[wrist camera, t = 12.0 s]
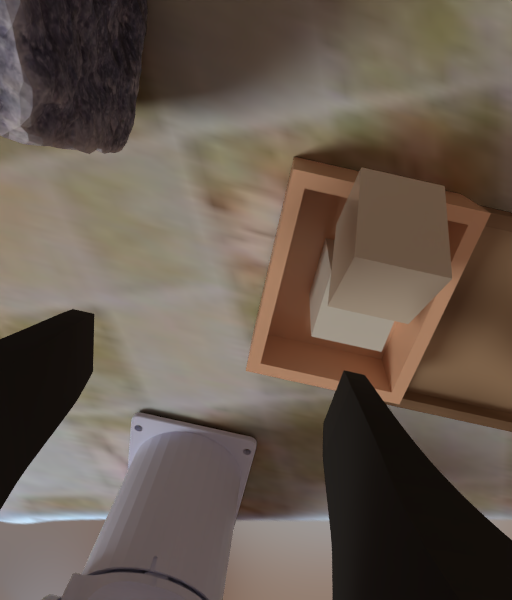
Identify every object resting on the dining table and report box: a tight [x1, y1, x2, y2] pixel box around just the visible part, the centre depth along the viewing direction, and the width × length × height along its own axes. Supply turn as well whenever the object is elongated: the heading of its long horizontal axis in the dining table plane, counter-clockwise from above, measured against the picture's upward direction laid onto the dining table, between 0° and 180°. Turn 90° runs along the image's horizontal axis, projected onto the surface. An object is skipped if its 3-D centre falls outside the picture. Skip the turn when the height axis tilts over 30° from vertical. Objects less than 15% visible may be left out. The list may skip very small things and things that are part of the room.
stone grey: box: [309, 238, 394, 352], centre depth 18 cm, size 4×3×3 cm
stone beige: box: [328, 167, 452, 324], centre depth 15 cm, size 4×3×3 cm
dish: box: [246, 157, 491, 404], centre depth 19 cm, size 10×8×3 cm
